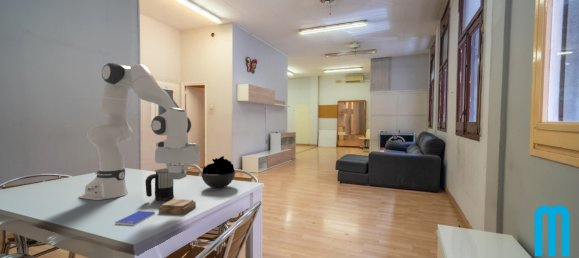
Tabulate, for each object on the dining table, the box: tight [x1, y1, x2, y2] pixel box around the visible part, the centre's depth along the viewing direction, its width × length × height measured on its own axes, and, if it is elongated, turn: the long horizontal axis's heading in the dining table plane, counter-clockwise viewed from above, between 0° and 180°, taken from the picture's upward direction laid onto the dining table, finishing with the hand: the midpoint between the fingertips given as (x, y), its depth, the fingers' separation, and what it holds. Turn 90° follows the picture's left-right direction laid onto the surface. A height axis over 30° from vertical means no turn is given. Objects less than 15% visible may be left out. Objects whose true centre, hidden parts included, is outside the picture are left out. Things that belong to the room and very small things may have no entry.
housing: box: [169, 164, 187, 180], centre depth 115 cm, size 6×5×6 cm
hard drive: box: [114, 210, 156, 226], centre depth 105 cm, size 2×8×12 cm
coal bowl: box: [200, 155, 236, 190], centre depth 154 cm, size 20×20×19 cm
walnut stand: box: [158, 198, 196, 215], centre depth 115 cm, size 12×10×4 cm
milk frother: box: [145, 168, 175, 202], centre depth 130 cm, size 14×16×15 cm
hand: (177, 173), depth 115 cm, fingers closed on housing, 5 cm apart
